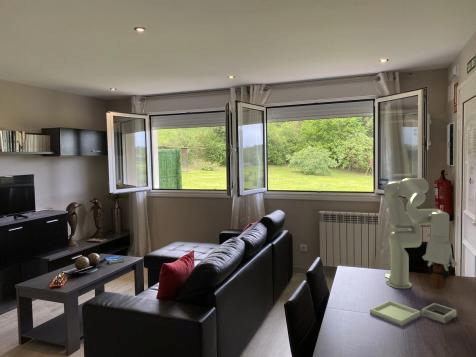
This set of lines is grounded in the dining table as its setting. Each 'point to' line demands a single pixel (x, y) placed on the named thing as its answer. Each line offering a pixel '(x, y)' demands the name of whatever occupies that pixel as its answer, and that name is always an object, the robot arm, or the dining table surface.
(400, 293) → the dining table surface
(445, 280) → the brown lumpy elongated piece
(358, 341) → the dining table surface
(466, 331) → the dining table surface
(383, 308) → the sage tray
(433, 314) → the white square bin
